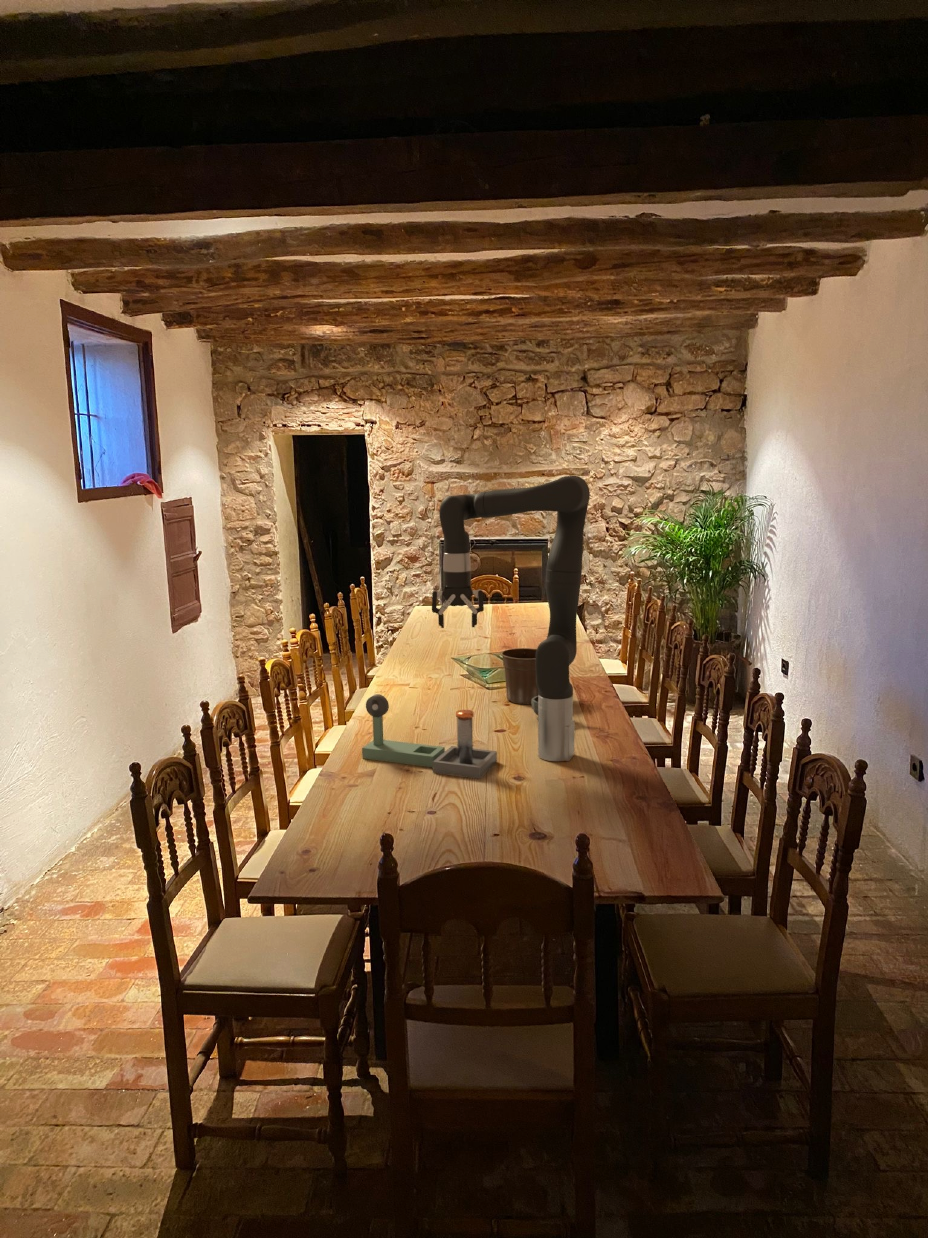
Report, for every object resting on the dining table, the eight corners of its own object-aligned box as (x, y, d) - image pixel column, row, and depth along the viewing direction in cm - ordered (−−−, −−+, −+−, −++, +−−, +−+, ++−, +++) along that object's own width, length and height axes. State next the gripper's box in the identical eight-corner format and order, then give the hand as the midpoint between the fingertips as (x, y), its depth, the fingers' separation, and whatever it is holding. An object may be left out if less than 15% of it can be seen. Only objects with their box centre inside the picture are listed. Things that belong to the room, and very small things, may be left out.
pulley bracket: (444, 757, 231) (443, 697, 228) (433, 767, 224) (431, 705, 221) (375, 749, 239) (373, 690, 235) (362, 758, 231) (360, 698, 228)
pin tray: (496, 762, 227) (496, 751, 227) (480, 779, 215) (479, 767, 215) (451, 756, 232) (451, 745, 231) (433, 772, 220) (432, 761, 219)
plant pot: (549, 693, 292) (550, 647, 289) (549, 707, 277) (550, 658, 274) (502, 692, 294) (502, 647, 291) (500, 706, 278) (499, 658, 275)
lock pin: (476, 761, 225) (476, 710, 222) (470, 767, 221) (469, 715, 218) (460, 759, 226) (459, 709, 224) (453, 765, 222) (453, 714, 220)
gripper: (431, 571, 228) (432, 630, 231) (484, 570, 228) (484, 629, 231) (430, 567, 235) (431, 625, 238) (481, 566, 236) (482, 624, 239)
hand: (457, 627), depth 235 cm, fingers open, 8 cm apart
